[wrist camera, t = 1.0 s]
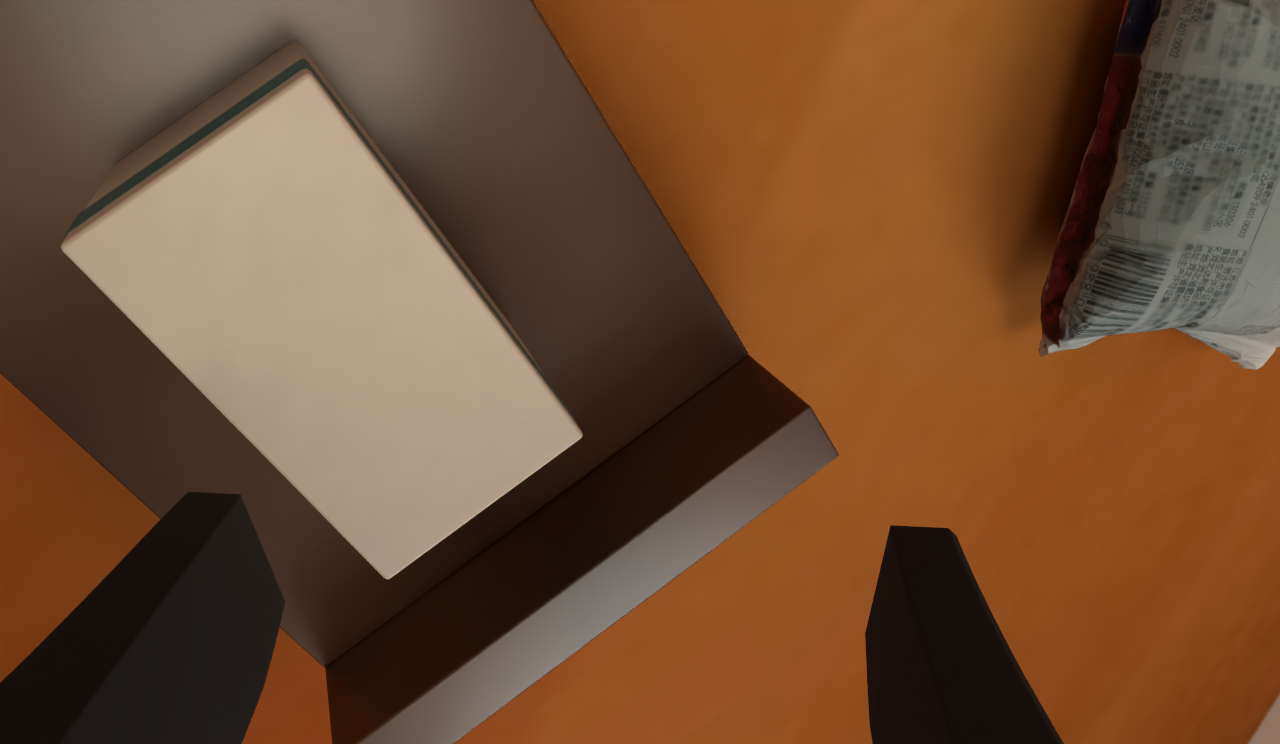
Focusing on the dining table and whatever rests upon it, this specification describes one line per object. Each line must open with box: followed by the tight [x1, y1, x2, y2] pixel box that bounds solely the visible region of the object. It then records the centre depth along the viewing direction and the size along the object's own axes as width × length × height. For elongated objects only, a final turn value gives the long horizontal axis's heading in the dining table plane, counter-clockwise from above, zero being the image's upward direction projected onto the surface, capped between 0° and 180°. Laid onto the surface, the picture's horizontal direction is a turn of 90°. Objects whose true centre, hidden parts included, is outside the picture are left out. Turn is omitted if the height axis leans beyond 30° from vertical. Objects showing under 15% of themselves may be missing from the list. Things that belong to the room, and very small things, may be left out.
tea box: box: [61, 40, 583, 579], centre depth 18 cm, size 4×7×6 cm, turn 32°
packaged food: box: [1039, 0, 1280, 369], centre depth 27 cm, size 9×12×5 cm
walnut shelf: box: [0, 0, 838, 744], centre depth 20 cm, size 12×18×6 cm, turn 32°
